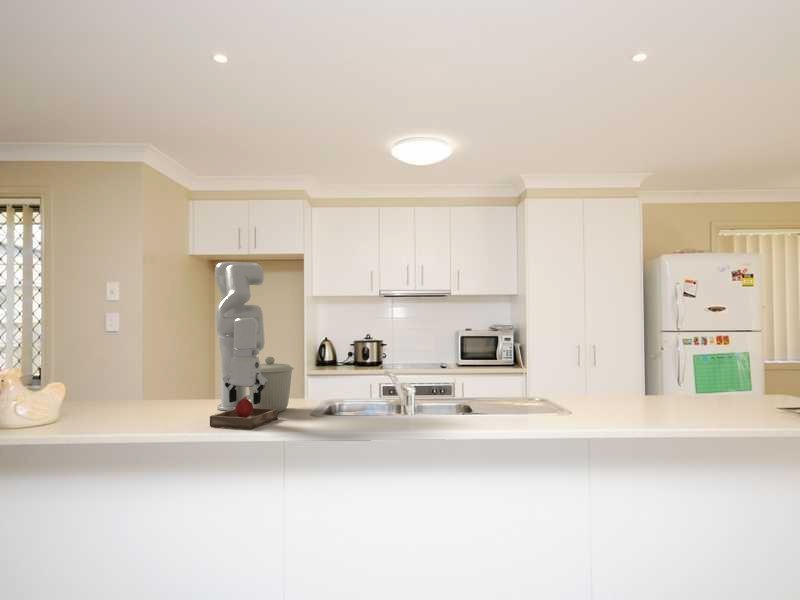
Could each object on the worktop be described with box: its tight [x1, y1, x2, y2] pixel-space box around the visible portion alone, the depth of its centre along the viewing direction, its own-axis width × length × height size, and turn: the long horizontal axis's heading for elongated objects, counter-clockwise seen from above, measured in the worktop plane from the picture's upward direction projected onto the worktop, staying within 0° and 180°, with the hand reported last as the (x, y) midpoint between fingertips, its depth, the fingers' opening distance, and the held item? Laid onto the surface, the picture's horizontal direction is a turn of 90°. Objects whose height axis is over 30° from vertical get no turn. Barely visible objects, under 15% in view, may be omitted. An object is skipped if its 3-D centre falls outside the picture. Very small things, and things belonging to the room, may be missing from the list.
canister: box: [248, 356, 295, 413], centre depth 179 cm, size 18×18×21 cm
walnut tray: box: [209, 408, 279, 430], centre depth 159 cm, size 16×16×4 cm
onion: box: [235, 396, 253, 418], centre depth 159 cm, size 6×6×8 cm
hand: (244, 402), depth 159 cm, fingers open, 9 cm apart
